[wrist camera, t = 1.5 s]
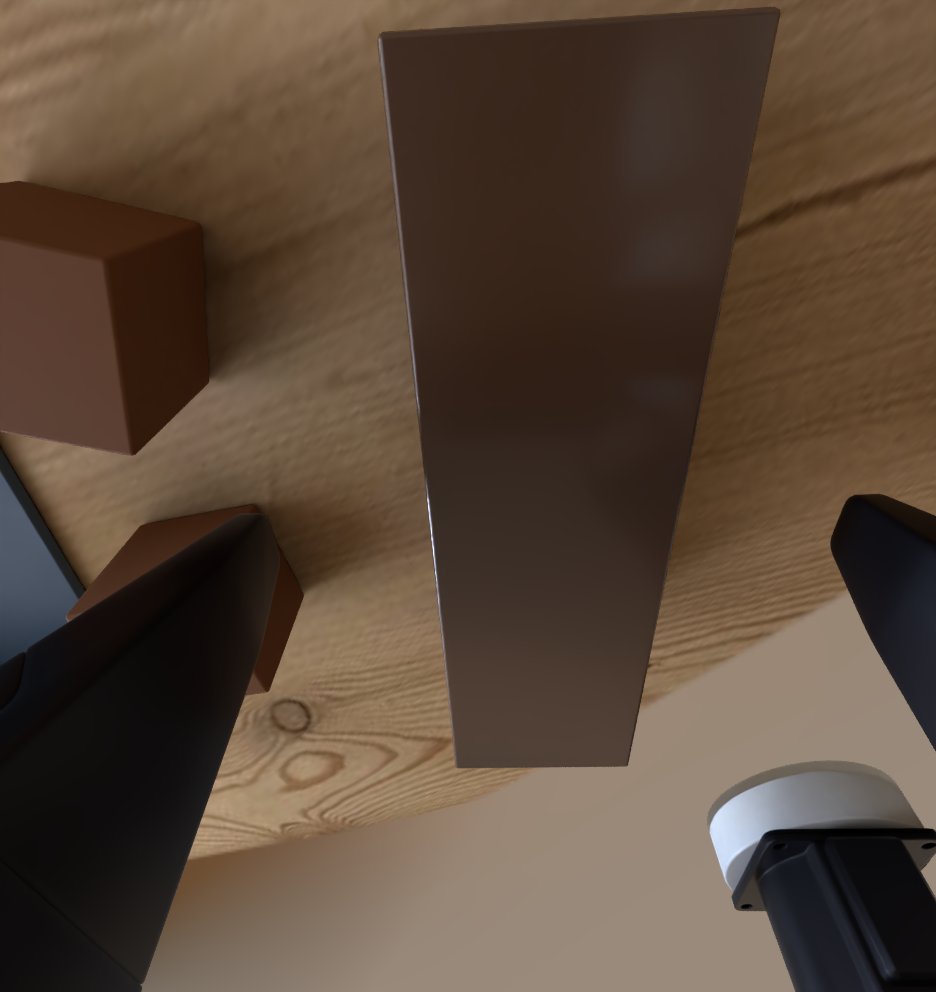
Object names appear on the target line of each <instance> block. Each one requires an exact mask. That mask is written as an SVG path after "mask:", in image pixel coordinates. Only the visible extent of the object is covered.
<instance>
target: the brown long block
mask: <svg viewBox="0 0 936 992" xmlns="http://www.w3.org/2000/svg"><path fill="white" fill-rule="evenodd" d="M779 18H780V9H778V8H776V7H762V8H747V9H731V10H716V11H700V12H684V13H669V14H653V15H638V16H622V17H606V18H591V19H575V20H560V21H544V22H529V23H513V24H497V25H482V26H466V27H451V28H435V29H420V30H404V31H388V32H382V33H381V34H379V35H378V40H377V42H378V52H379V61H380V70H381V80H382V89H383V98H384V107H385V117H386V126H387V135H388V144H389V154H390V163H391V172H392V181H393V191H394V200H395V209H396V218H397V228H398V237H399V246H400V255H401V265H402V274H403V283H404V292H405V302H406V311H407V320H408V329H409V339H410V348H411V357H412V367H413V376H414V385H415V394H416V404H417V413H418V422H419V431H420V441H421V450H422V459H423V468H424V478H425V487H426V496H427V505H428V515H429V524H430V533H431V542H432V552H433V561H434V570H435V579H436V589H437V598H438V607H439V616H440V626H441V635H442V644H443V654H444V663H445V672H446V681H447V691H448V700H449V709H450V718H451V728H452V737H453V746H454V755H455V765H456V767H457V768H529V767H610V766H611V767H612V766H613V767H617V766H627V765H628V762H629V757H630V752H631V746H632V741H633V737H634V732H635V727H636V722H637V717H638V713H639V708H640V703H641V698H642V693H643V688H644V683H645V678H646V673H647V668H648V663H649V658H650V653H651V648H652V644H653V639H654V634H655V629H656V624H657V619H658V614H659V609H660V604H661V599H662V594H663V589H664V584H665V579H666V575H667V570H668V565H669V560H670V555H671V550H672V545H673V540H674V535H675V530H676V525H677V520H678V515H679V510H680V506H681V501H682V496H683V491H684V486H685V481H686V476H687V471H688V466H689V461H690V456H691V451H692V446H693V441H694V437H695V432H696V427H697V422H698V417H699V412H700V407H701V402H702V397H703V392H704V387H705V382H706V377H707V373H708V368H709V363H710V358H711V353H712V348H713V343H714V338H715V333H716V328H717V323H718V318H719V313H720V308H721V304H722V299H723V294H724V289H725V284H726V279H727V274H728V269H729V264H730V259H731V254H732V249H733V244H734V239H735V235H736V230H737V225H738V220H739V215H740V210H741V205H742V200H743V195H744V190H745V185H746V180H747V175H748V170H749V166H750V161H751V156H752V151H753V146H754V141H755V136H756V131H757V126H758V121H759V116H760V111H761V106H762V101H763V97H764V92H765V87H766V82H767V77H768V72H769V67H770V62H771V57H772V52H773V47H774V42H775V37H776V32H777V28H778V23H779Z"/></svg>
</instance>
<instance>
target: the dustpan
mask: <svg viewBox="0 0 936 992" xmlns="http://www.w3.org/2000/svg"><path fill="white" fill-rule="evenodd" d="M84 593H85V591H84V589H83V587H82V586H81V584H80V582H79V581H78V579H77V577H76V575H75V574H74V572H73V570H72V569H71V567H70V565H69V564H68V562H67V560H66V559H65V557H64V555H63V553H62V552H61V550H60V548H59V547H58V545H57V543H56V542H55V540H54V538H53V537H52V535H51V533H50V532H49V530H48V528H47V526H46V525H45V523H44V521H43V520H42V518H41V516H40V515H39V513H38V511H37V510H36V508H35V506H34V504H33V503H32V501H31V499H30V498H29V496H28V494H27V493H26V491H25V489H24V488H23V486H22V484H21V482H20V481H19V479H18V477H17V476H16V474H15V472H14V471H13V469H12V467H11V466H10V464H9V462H8V461H7V459H6V457H5V455H4V454H3V452H2V450H1V449H0V665H2V664H3V663H5V662H6V661H8V660H9V659H11V658H13V657H14V656H16V655H17V654H19V653H20V652H27V649H28V648H29V647H30V646H32V645H33V644H35V643H36V642H38V641H39V640H41V639H43V638H44V637H46V636H47V635H49V634H50V633H52V632H54V631H55V630H57V629H58V628H60V627H61V626H63V625H65V624H66V623H68V621H67V620H66V615H67V613H68V612H69V611H70V610H71V609H72V607H73V606H74V605H75V604H76V603H77V601H78V600H79V599H80V598H81V597H82V595H83V594H84Z"/></svg>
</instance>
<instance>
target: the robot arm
mask: <svg viewBox="0 0 936 992" xmlns="http://www.w3.org/2000/svg"><path fill="white" fill-rule="evenodd" d="M830 544H831V551H832V554H833V557H834V559H835V561H836V564H837V566H838V568H839V570H840V573H841V575H842V577H843V579H844V582H845V584H846V586H847V588H848V591H849V593H850V595H851V597H852V600H853V602H854V604H855V606H856V609H857V611H858V613H859V615H860V618H861V620H862V622H863V624H864V626H865V629H866V631H867V633H868V635H869V636H870V639H871V641H872V642H873V644H874V646H875V648H876V650H877V652H878V653H879V655H880V657H881V658H882V660H883V662H884V664H885V665H886V667H887V669H888V670H889V672H890V674H891V676H892V677H893V679H894V681H895V682H896V684H897V686H898V687H899V689H900V691H901V693H902V694H903V696H904V698H905V700H906V701H907V703H908V705H909V706H910V708H911V710H912V712H913V713H914V715H915V717H916V719H917V720H918V722H919V724H920V725H921V727H922V729H923V731H924V732H925V734H926V735H927V737H928V739H929V741H930V743H931V744H932V746H933V748H934V749H935V751H936V516H935V515H932V514H930V513H927V512H925V511H922V510H920V509H917V508H915V507H912V506H910V505H908V504H905V503H903V502H900V501H898V500H895V499H893V498H890V497H888V496H885V495H882V494H863V495H853V496H851V497H850V498H848V499H847V501H846V502H845V504H844V506H843V509H842V511H841V514H840V516H839V519H838V521H837V524H836V526H835V529H834V531H833V534H832V537H831V543H830ZM279 567H280V556H279V551H278V548H277V545H276V541H275V538H274V535H273V532H272V529H271V525H270V522H269V520H268V518H267V516H266V515H264V514H262V513H245V514H238V515H236V516H234V517H233V518H231V519H229V520H228V521H226V522H225V523H223V524H222V525H220V526H218V527H217V528H215V529H214V530H212V531H211V532H209V533H207V534H206V535H204V536H203V537H201V538H200V539H198V540H196V541H195V542H193V543H192V544H190V545H189V546H187V547H185V548H184V549H182V550H181V551H179V552H178V553H176V554H174V555H173V556H171V557H170V558H168V559H167V560H165V561H163V562H162V563H160V564H159V565H157V566H156V567H154V568H152V569H151V570H149V571H148V572H146V573H145V574H143V575H142V576H140V577H138V578H137V579H135V580H134V581H132V582H131V583H129V584H127V585H126V586H124V587H123V588H121V589H120V590H118V591H116V592H115V593H113V594H112V595H110V596H109V597H107V598H105V599H104V600H102V601H101V602H99V603H98V604H96V605H94V606H93V607H91V608H90V609H88V610H87V611H85V612H83V613H82V614H80V615H79V616H77V617H76V618H74V619H72V620H71V621H69V622H68V623H66V624H65V625H63V626H61V627H60V628H58V629H57V630H55V631H54V632H52V633H50V634H49V635H47V636H46V637H44V638H43V639H41V640H39V641H38V642H36V643H35V644H33V645H32V646H30V647H29V648H28V649H27V652H20V653H19V654H17V655H16V656H14V657H13V658H11V659H9V660H8V661H6V662H5V663H3V664H2V665H0V992H141V990H142V986H141V985H140V984H142V983H143V982H144V980H145V978H146V975H147V972H148V969H149V967H150V964H151V961H152V958H153V955H154V952H155V950H156V947H157V944H158V941H159V938H160V935H161V933H162V930H163V927H164V924H165V921H166V918H167V916H168V913H169V910H170V907H171V904H172V901H173V898H174V895H175V893H176V890H177V887H178V884H179V881H180V879H181V876H182V873H183V870H184V867H185V864H186V862H187V859H188V856H189V853H190V850H191V847H192V845H193V842H194V839H195V836H196V833H197V830H198V827H199V825H200V822H201V819H202V816H203V813H204V810H205V808H206V805H207V802H208V799H209V796H210V793H211V791H212V788H213V785H214V782H215V779H216V776H217V774H218V771H219V768H220V765H221V762H222V759H223V756H224V754H225V751H226V748H227V745H228V742H229V739H230V737H231V734H232V731H233V728H234V725H235V722H236V720H237V717H238V714H239V711H240V708H241V705H242V703H243V700H244V697H245V694H246V691H247V688H248V685H249V683H250V680H251V677H252V674H253V671H254V668H255V666H256V663H257V660H258V656H259V653H260V650H261V646H262V642H263V639H264V634H265V630H266V625H267V621H268V616H269V612H270V607H271V603H272V598H273V594H274V590H275V585H276V581H277V576H278V572H279ZM935 853H936V831H935V830H934V829H930V828H876V829H775V830H771V831H768V832H766V833H764V834H763V835H762V837H761V839H760V841H759V843H758V845H757V847H756V849H755V851H754V853H753V855H752V857H751V859H750V861H749V863H748V865H747V867H746V869H745V870H744V872H743V874H742V876H741V878H740V880H739V882H738V884H737V886H736V888H735V890H734V892H733V894H732V901H733V904H734V907H735V909H736V910H739V911H766V912H767V914H768V917H769V920H770V923H771V925H772V928H773V931H774V934H775V936H776V939H777V942H778V945H779V947H780V950H781V953H782V956H783V959H784V961H785V964H786V967H787V969H788V972H789V975H790V978H791V980H792V983H793V986H794V989H795V992H936V897H935V895H934V894H933V892H932V890H931V889H930V887H929V885H928V883H927V882H926V880H925V878H924V877H923V875H922V873H921V871H920V870H921V869H922V868H923V867H924V866H925V864H926V863H927V862H928V861H929V860H930V859H931V858H932V857H933V855H934V854H935Z"/></svg>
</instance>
